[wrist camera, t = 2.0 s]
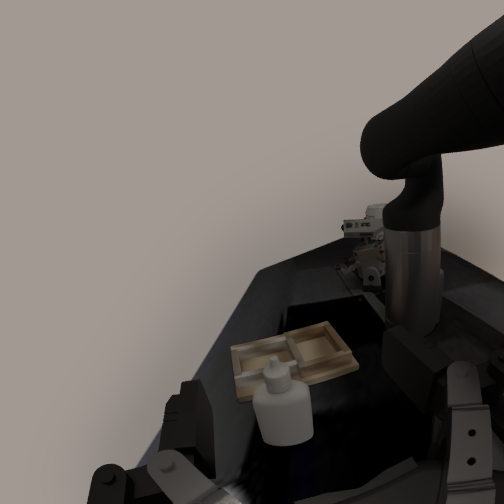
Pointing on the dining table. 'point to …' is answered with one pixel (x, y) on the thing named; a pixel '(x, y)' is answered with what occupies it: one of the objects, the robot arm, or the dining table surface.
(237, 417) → the dining table surface
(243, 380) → the wooden compartment tray
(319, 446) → the dining table surface
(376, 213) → the supplement can
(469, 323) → the dining table surface
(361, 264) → the figurine
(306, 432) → the eye dropper bottle
